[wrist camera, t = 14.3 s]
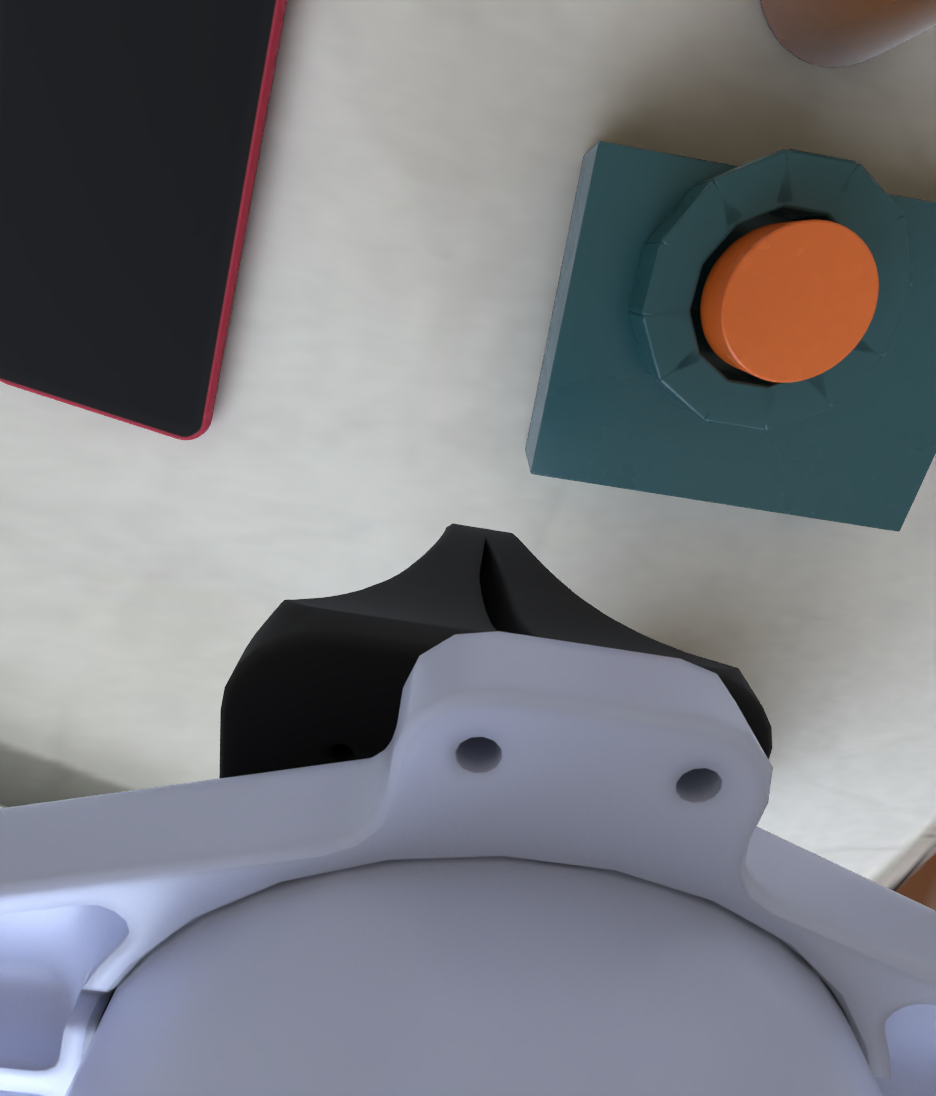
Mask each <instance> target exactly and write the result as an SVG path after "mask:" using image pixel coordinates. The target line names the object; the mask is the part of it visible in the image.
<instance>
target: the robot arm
mask: <svg viewBox="0 0 936 1096" xmlns="http://www.w3.org/2000/svg"><path fill="white" fill-rule="evenodd" d="M771 750H772V733H771V725H770V723H769V721H768V718H767V716H766V714H765V711H764V709H763V707H762V705H761V704H760V702H759V700H758V699H757V697H756V696H755V694H754V692H753V691H752V689H751V688H750V686H749V684H748V683H747V681H746V679H745V678H744V676H743V675H742V673H741V672H740V670H739V669H738V668H736V667H732V666H729V665H726V664H722V663H719V662H716V661H712V660H709V659H706V658H702V657H699V656H695V655H692V654H689V653H686V652H683V651H681V650H678V649H676V648H673V647H671V646H668V645H665V644H663V643H660V642H658V641H656V640H653V639H651V638H649V637H647V636H644V635H642V634H640V633H638V632H636V631H634V630H632V629H630V628H628V627H627V626H625V625H623V624H621V623H619V622H617V621H615V620H614V619H612V618H610V617H608V616H607V615H605V614H603V613H602V612H600V611H599V610H597V609H596V608H595V607H593V606H592V605H590V604H589V603H587V602H586V601H584V600H583V599H581V598H580V597H579V596H577V595H576V594H575V593H574V592H572V591H571V590H570V589H569V588H568V587H567V586H565V585H564V584H563V583H562V582H561V581H560V580H558V579H557V578H556V577H555V576H554V575H553V574H552V573H551V572H550V571H549V570H548V569H547V568H546V567H545V566H544V565H543V564H542V563H541V562H540V561H539V560H538V559H537V558H536V557H535V556H534V555H533V554H532V553H531V552H530V551H529V550H528V549H527V547H526V546H525V545H524V544H523V543H522V542H521V541H520V540H519V539H518V538H517V537H516V536H515V535H514V534H512V533H508V532H501V531H495V530H489V529H483V528H476V527H470V526H464V525H458V524H451V525H450V526H448V527H447V528H446V530H445V532H444V533H443V535H442V536H441V538H440V539H439V540H438V541H437V542H436V543H435V544H434V546H433V547H432V548H431V549H430V550H429V551H428V552H427V553H426V554H425V555H423V556H422V557H421V558H420V559H419V560H417V561H416V562H415V563H414V564H412V565H411V566H410V567H409V568H407V569H406V570H404V571H403V572H401V573H400V574H398V575H396V576H395V577H393V578H391V579H389V580H387V581H384V582H381V583H379V584H376V585H373V586H371V587H368V588H365V589H363V590H359V591H356V592H352V593H348V594H343V595H337V596H332V597H325V598H313V599H298V600H284V601H283V602H282V603H281V604H280V605H279V607H278V608H277V609H276V610H275V611H274V612H273V614H272V615H271V616H270V617H269V618H268V619H267V621H266V622H265V623H264V624H263V625H262V627H261V628H260V629H259V630H258V632H257V633H256V634H255V635H254V637H253V638H252V640H251V641H250V643H249V644H248V646H247V647H246V649H245V651H244V653H243V654H242V656H241V658H240V660H239V662H238V664H237V666H236V667H235V669H234V671H233V673H232V675H231V677H230V679H229V681H228V682H227V684H226V686H225V690H224V695H223V700H222V706H221V726H220V779H213V780H206V781H198V782H191V783H184V784H176V785H169V786H162V787H154V788H147V789H140V790H132V791H125V792H118V793H110V794H103V795H96V796H88V797H81V798H74V799H67V800H59V801H52V802H45V803H37V804H30V805H23V806H15V807H8V808H1V809H0V1096H936V911H935V910H933V909H930V908H928V907H926V906H924V905H922V904H920V903H918V902H915V901H913V900H911V899H909V898H907V897H905V896H903V895H900V894H899V893H897V892H894V891H892V890H890V889H888V888H886V887H884V886H882V885H880V884H877V883H875V882H873V881H871V880H869V879H867V878H865V877H863V876H861V875H858V874H856V873H854V872H852V871H850V870H848V869H846V868H844V867H841V866H839V865H837V864H835V863H833V862H831V861H829V860H827V859H825V858H822V857H820V856H818V855H816V854H814V853H812V852H810V851H808V850H805V849H803V848H801V847H799V846H797V845H795V844H793V843H791V842H789V841H786V840H784V839H782V838H780V837H778V836H776V835H774V834H772V833H769V832H767V831H765V830H763V829H761V828H759V827H757V824H758V822H759V820H760V818H761V816H762V814H763V812H764V810H765V808H766V806H767V804H768V799H769V791H770V784H771V777H772V769H773V767H772V765H771V763H770V762H769V756H770V753H771Z"/></svg>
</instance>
